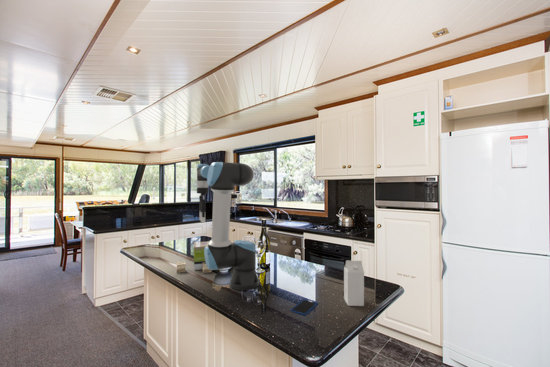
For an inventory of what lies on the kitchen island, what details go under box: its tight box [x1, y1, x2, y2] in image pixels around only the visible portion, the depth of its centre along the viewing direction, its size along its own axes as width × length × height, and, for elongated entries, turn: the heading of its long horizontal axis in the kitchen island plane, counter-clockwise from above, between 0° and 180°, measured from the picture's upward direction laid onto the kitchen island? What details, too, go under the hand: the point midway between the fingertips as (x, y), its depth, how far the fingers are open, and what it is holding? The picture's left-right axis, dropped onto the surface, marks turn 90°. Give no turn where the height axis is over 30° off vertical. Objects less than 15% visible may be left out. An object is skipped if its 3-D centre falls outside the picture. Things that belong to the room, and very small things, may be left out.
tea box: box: [193, 240, 210, 271], centre depth 169 cm, size 15×10×15 cm
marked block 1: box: [176, 261, 186, 274], centre depth 159 cm, size 5×5×5 cm
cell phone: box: [289, 298, 319, 316], centre depth 112 cm, size 7×14×1 cm, turn 147°
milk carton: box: [343, 260, 365, 307], centre depth 117 cm, size 7×7×19 cm
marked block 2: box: [201, 262, 213, 274], centre depth 159 cm, size 5×5×5 cm
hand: (202, 221), depth 170 cm, fingers open, 9 cm apart
